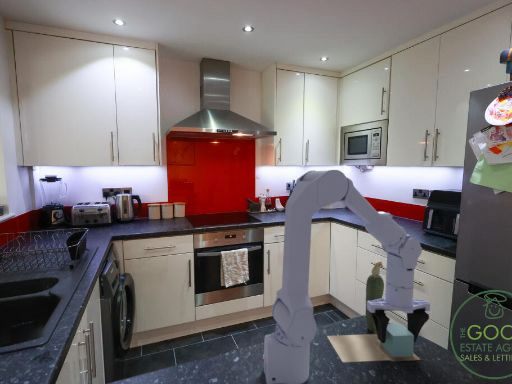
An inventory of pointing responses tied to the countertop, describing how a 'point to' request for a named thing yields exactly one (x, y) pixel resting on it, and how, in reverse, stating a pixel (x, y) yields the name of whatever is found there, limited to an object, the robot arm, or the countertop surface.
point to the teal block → (398, 341)
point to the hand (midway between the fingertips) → (396, 340)
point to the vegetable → (373, 292)
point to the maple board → (363, 349)
